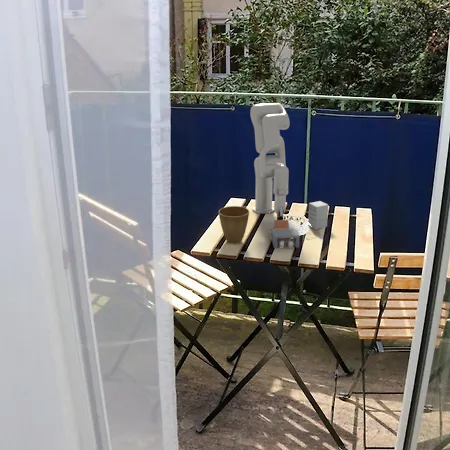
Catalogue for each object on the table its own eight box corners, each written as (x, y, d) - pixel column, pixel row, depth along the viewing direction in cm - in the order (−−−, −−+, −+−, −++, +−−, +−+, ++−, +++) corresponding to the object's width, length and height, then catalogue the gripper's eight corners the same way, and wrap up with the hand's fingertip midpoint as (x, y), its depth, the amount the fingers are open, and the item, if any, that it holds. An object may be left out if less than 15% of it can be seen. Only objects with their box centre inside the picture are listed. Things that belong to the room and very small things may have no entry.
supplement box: (319, 222, 302) (320, 200, 298) (327, 227, 296) (328, 204, 291) (307, 225, 299) (308, 202, 295) (315, 229, 293) (316, 206, 288)
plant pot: (221, 235, 287) (221, 205, 281) (250, 236, 284) (251, 206, 278) (216, 246, 273) (216, 215, 267) (246, 248, 270) (247, 217, 265)
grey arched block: (274, 231, 291) (274, 219, 289) (287, 231, 292) (287, 219, 289) (276, 240, 280) (277, 228, 278) (290, 240, 280) (291, 228, 278)
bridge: (270, 234, 287) (270, 222, 285) (293, 233, 288) (294, 222, 285) (273, 247, 271) (274, 235, 268) (299, 247, 271) (299, 235, 269)
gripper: (271, 186, 297) (271, 219, 303) (275, 195, 283) (274, 229, 289) (286, 186, 297) (285, 219, 303) (289, 194, 283) (288, 229, 289)
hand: (279, 224), depth 296 cm, fingers closed
